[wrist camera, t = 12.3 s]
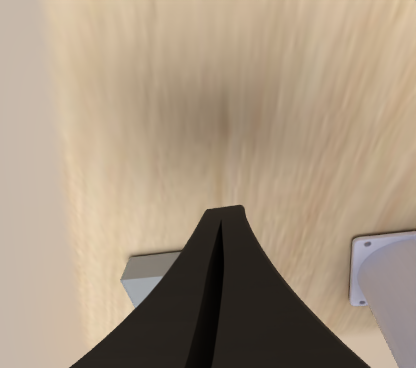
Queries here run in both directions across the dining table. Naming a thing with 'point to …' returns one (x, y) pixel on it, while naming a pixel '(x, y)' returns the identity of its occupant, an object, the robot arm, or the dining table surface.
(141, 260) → the socket block
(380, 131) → the dining table surface
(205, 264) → the robot arm
